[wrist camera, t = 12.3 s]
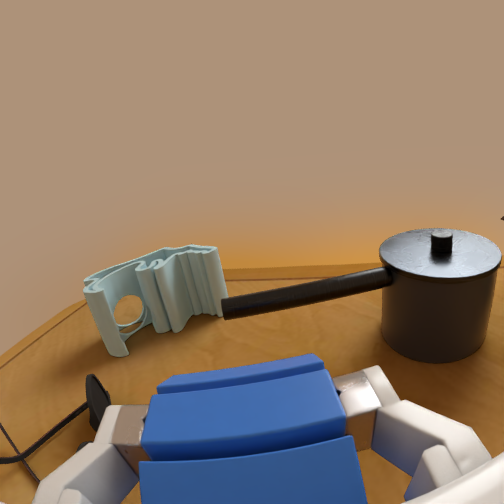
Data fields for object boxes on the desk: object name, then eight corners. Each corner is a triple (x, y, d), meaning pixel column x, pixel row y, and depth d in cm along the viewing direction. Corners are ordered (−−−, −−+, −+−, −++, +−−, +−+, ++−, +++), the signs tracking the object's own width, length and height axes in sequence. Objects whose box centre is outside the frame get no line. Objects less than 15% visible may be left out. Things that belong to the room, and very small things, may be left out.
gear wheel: (226, 609, 6) (113, 568, 3) (222, 461, 14) (169, 329, 12) (352, 593, 6) (395, 546, 3) (315, 447, 14) (302, 306, 12)
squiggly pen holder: (200, 292, 52) (186, 238, 49) (234, 310, 45) (220, 248, 42) (100, 336, 43) (77, 279, 40) (116, 367, 35) (88, 301, 32)
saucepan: (242, 423, 25) (211, 317, 21) (237, 339, 38) (217, 252, 34) (508, 339, 25) (527, 242, 22) (448, 289, 38) (452, 210, 34)
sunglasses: (21, 409, 27) (0, 377, 26) (121, 395, 30) (102, 359, 28) (-12, 518, 12) (-48, 487, 10) (118, 530, 15) (83, 501, 13)
